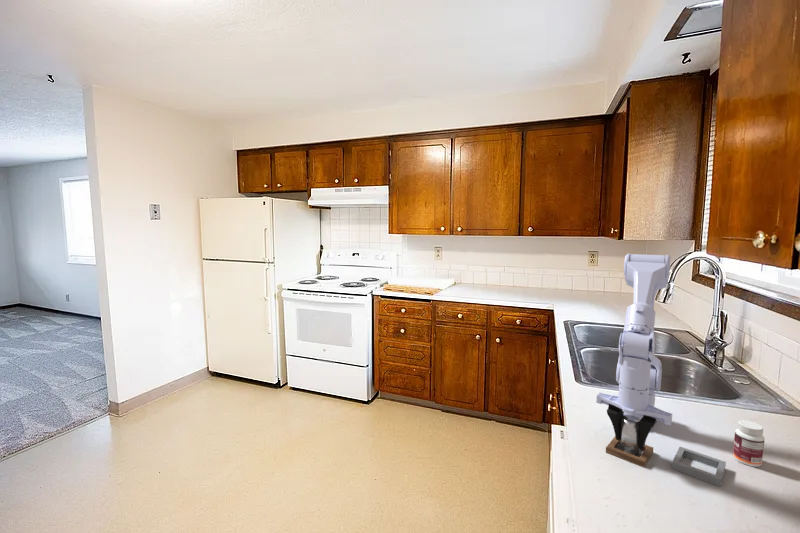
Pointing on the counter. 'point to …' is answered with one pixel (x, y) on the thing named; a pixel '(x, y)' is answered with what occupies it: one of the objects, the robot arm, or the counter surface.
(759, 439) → the pill bottle
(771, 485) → the counter surface
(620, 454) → the socket frame
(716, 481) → the frame
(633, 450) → the grey thick round cylinder
